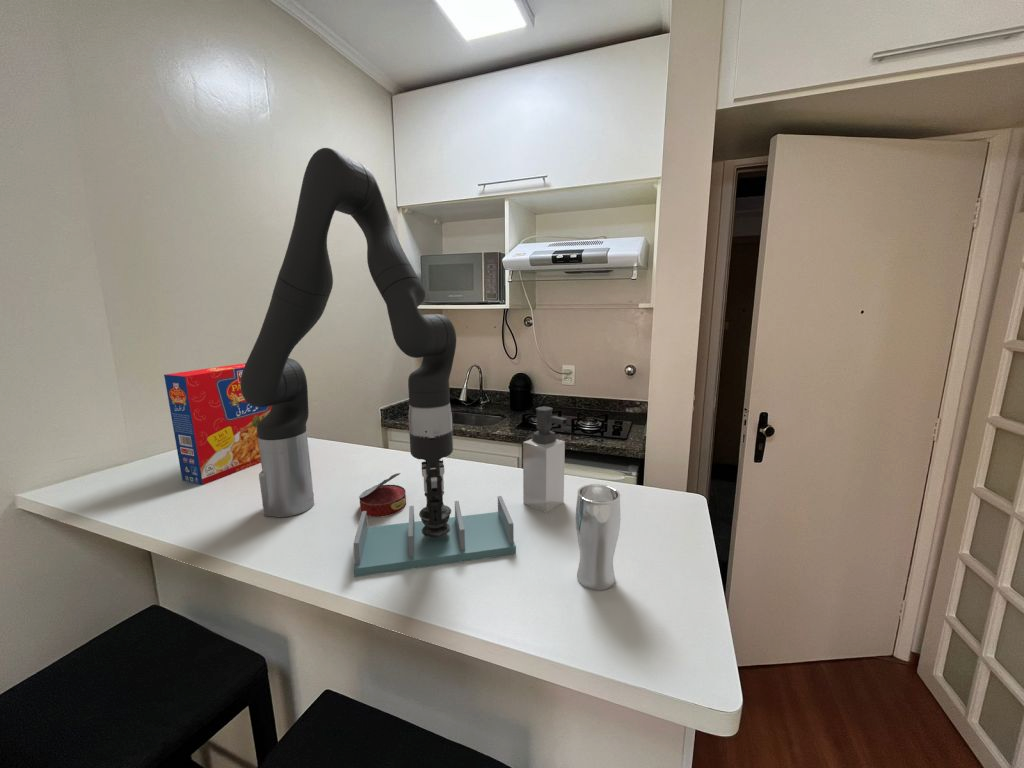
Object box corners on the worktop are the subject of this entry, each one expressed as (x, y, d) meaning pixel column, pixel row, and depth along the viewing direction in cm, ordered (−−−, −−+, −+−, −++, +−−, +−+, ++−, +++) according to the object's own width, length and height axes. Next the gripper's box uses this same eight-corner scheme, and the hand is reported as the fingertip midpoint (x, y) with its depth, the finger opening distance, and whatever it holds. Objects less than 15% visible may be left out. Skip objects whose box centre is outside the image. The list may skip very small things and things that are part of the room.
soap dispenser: (554, 516, 87) (555, 416, 83) (523, 503, 93) (523, 408, 89) (572, 505, 91) (574, 409, 87) (541, 493, 97) (542, 403, 93)
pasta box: (202, 485, 104) (185, 376, 98) (182, 480, 106) (164, 374, 101) (296, 449, 129) (286, 361, 124) (277, 446, 132) (267, 360, 127)
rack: (353, 576, 68) (351, 546, 67) (363, 534, 80) (361, 508, 79) (515, 553, 74) (515, 525, 73) (501, 517, 86) (501, 493, 85)
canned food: (376, 537, 88) (350, 507, 83) (368, 512, 96) (344, 483, 92) (421, 505, 91) (398, 474, 86) (409, 483, 100) (388, 454, 95)
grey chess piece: (455, 522, 79) (452, 463, 77) (447, 539, 74) (444, 476, 71) (425, 520, 80) (422, 462, 78) (415, 537, 74) (412, 475, 72)
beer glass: (570, 566, 70) (571, 484, 67) (609, 563, 71) (613, 482, 68) (580, 594, 64) (582, 504, 61) (623, 591, 64) (628, 502, 61)
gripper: (409, 418, 79) (414, 499, 82) (408, 443, 65) (413, 539, 68) (449, 416, 81) (452, 495, 84) (455, 439, 67) (458, 533, 70)
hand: (434, 515), depth 76 cm, fingers closed on grey chess piece, 5 cm apart
